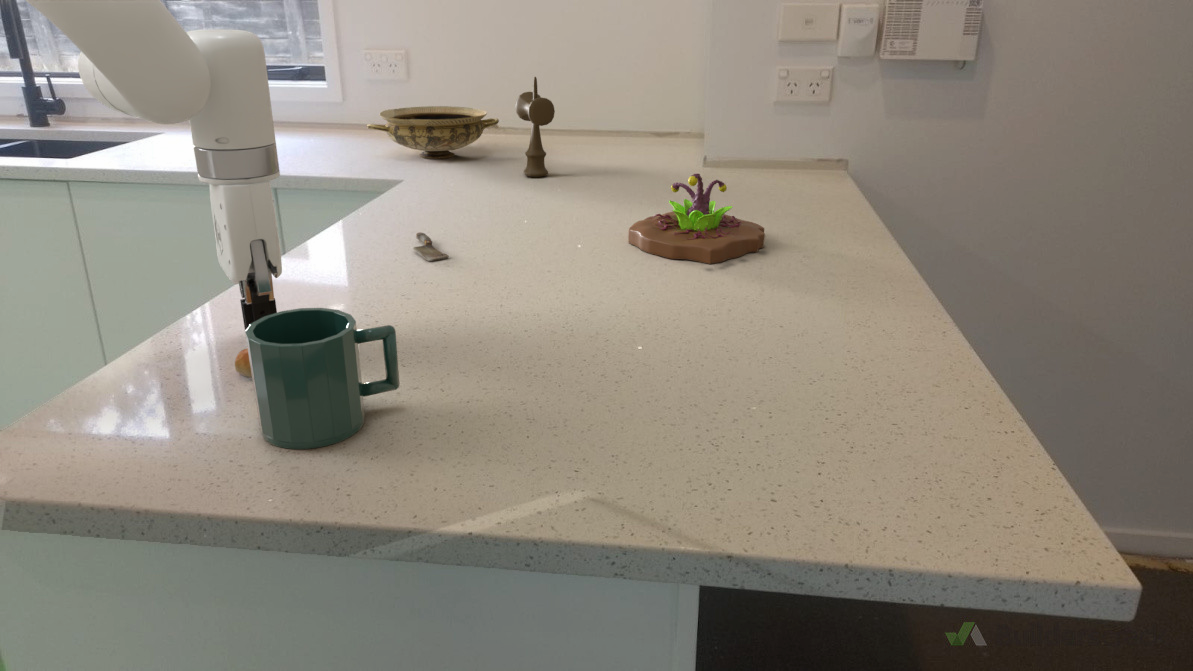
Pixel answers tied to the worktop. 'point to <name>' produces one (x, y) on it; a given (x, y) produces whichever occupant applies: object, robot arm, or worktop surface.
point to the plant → (697, 229)
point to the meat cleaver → (428, 249)
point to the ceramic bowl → (434, 128)
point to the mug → (314, 375)
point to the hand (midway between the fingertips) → (262, 333)
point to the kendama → (535, 127)
